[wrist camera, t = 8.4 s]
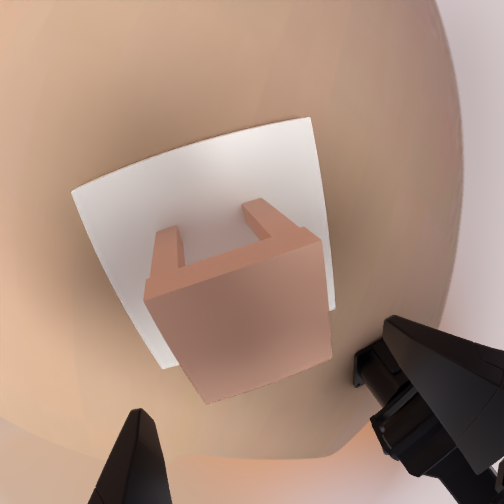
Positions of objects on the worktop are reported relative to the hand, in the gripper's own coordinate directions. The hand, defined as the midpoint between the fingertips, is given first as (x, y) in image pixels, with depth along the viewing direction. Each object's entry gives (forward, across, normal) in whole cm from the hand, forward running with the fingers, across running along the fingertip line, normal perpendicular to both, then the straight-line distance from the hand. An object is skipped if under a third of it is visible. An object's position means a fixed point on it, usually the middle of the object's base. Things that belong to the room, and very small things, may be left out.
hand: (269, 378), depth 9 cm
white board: (+11, 0, 0) cm, 11 cm away
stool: (+9, 0, 0) cm, 9 cm away
